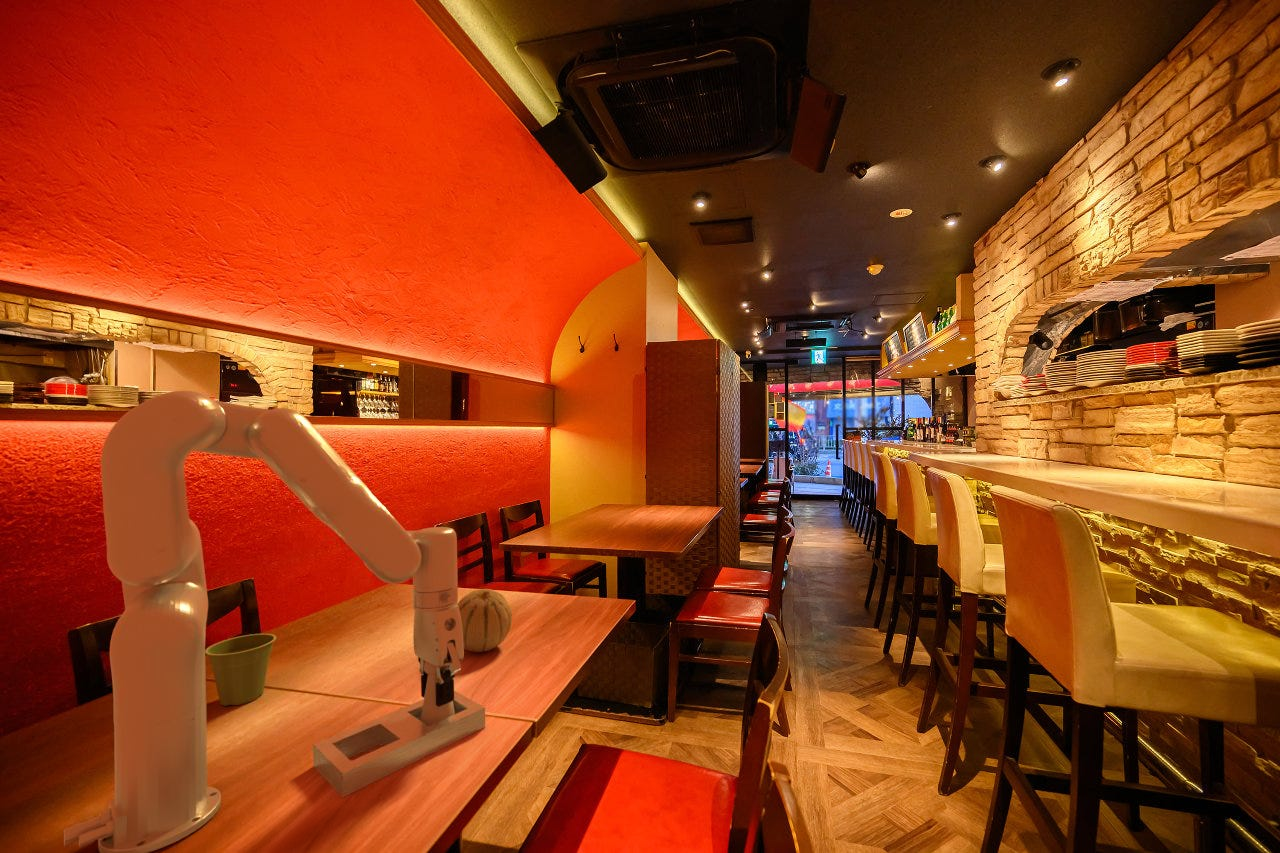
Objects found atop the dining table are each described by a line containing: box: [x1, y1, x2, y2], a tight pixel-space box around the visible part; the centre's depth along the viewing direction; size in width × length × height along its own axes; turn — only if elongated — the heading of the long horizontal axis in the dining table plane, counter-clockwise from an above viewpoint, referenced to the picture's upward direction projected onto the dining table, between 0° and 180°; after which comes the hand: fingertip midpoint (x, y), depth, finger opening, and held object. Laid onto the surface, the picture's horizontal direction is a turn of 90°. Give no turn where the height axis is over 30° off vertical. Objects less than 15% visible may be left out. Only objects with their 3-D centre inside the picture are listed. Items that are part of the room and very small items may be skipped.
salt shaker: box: [420, 659, 455, 726], centre depth 96 cm, size 6×6×13 cm
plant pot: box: [205, 633, 277, 707], centre depth 110 cm, size 12×12×11 cm
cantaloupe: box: [457, 588, 513, 653], centre depth 133 cm, size 15×15×15 cm
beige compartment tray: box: [312, 690, 486, 798], centre depth 91 cm, size 24×12×4 cm, turn 139°
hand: (437, 697), depth 96 cm, fingers open, 4 cm apart
